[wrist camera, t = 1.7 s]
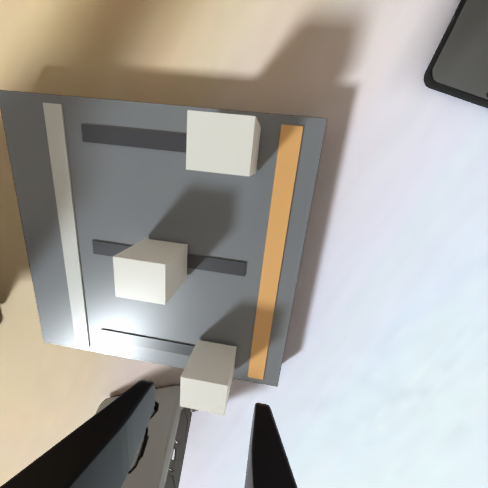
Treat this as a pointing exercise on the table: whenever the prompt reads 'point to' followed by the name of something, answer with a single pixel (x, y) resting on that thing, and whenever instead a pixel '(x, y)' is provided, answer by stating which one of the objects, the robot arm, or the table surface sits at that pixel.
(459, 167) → the table surface
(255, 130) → the handle
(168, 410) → the electrical switch
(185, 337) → the breaker panel
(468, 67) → the smartphone
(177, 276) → the handle middle
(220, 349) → the handle
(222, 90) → the table surface
